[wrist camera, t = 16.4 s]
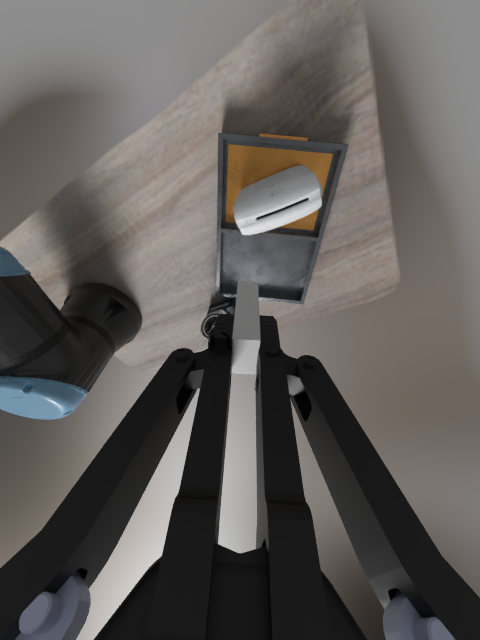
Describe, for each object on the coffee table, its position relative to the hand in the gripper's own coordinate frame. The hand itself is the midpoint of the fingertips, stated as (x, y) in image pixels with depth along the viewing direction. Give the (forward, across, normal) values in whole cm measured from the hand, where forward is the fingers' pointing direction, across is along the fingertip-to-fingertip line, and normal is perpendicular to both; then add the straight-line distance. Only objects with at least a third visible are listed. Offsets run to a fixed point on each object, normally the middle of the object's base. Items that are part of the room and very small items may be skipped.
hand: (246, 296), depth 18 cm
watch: (+25, +4, +19) cm, 31 cm away
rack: (+25, -3, +2) cm, 25 cm away
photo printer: (+24, -3, -4) cm, 24 cm away
